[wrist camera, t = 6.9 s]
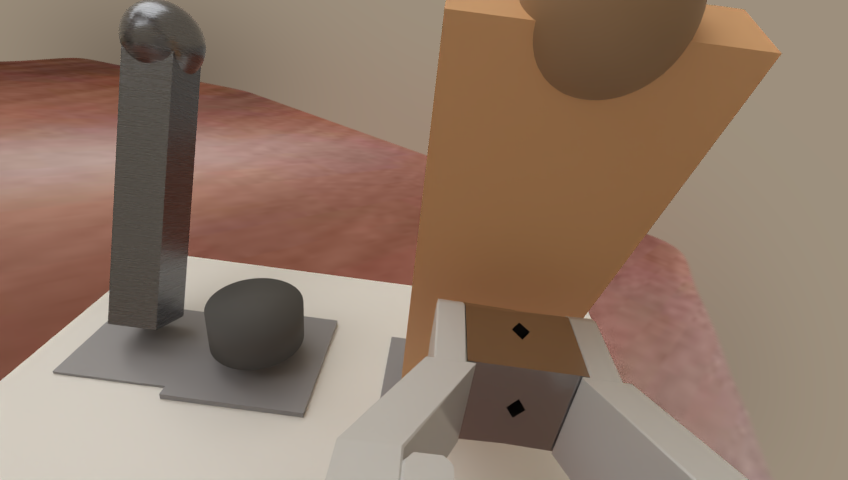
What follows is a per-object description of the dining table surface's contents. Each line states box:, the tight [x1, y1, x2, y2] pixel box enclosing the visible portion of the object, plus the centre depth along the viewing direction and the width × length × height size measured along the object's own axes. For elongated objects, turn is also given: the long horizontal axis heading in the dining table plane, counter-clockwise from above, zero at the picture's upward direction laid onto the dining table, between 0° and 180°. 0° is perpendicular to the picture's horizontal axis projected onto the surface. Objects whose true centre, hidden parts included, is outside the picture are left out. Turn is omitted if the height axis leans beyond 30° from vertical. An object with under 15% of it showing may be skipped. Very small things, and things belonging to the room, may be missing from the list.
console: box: [0, 256, 591, 480], centre depth 16 cm, size 20×11×4 cm, turn 86°
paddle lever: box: [401, 0, 781, 379], centre depth 10 cm, size 4×2×13 cm, turn 86°
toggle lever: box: [108, 0, 206, 330], centre depth 15 cm, size 2×2×10 cm
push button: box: [204, 278, 304, 370], centre depth 14 cm, size 3×3×1 cm
